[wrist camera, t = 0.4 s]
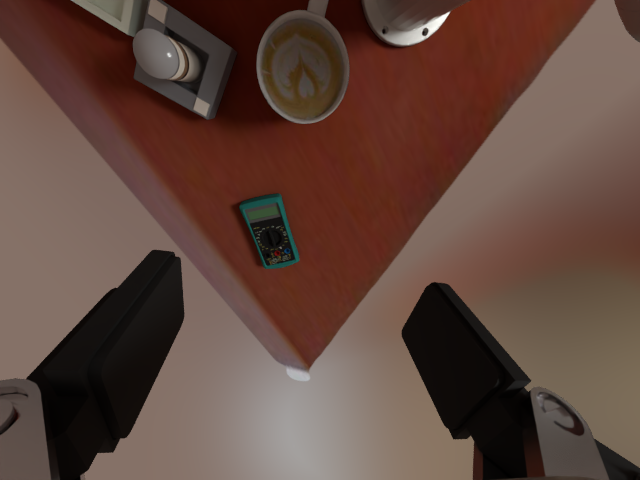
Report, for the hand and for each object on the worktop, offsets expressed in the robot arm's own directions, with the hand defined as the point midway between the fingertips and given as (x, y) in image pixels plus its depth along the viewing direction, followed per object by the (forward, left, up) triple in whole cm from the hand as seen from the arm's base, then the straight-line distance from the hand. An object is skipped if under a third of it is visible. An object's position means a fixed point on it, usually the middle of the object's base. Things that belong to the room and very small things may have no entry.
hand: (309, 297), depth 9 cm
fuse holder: (-2, -17, -34) cm, 38 cm away
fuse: (-2, -17, -33) cm, 37 cm away
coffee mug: (-10, -4, -35) cm, 36 cm away
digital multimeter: (+16, +3, -35) cm, 39 cm away
